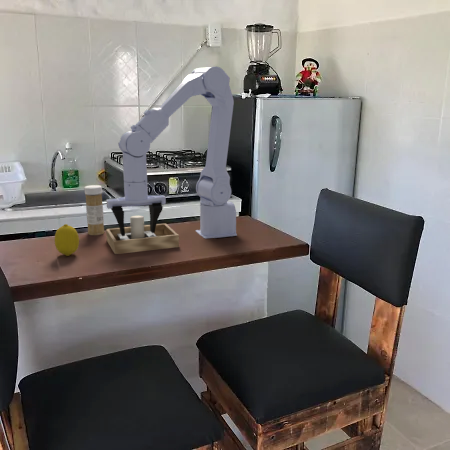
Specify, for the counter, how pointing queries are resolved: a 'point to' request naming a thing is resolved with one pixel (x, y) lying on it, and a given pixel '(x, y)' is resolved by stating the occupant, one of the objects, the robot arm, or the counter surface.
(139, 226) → the peg
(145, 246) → the crate
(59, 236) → the lemon
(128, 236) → the plate
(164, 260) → the counter surface
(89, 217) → the sprinkles bottle
